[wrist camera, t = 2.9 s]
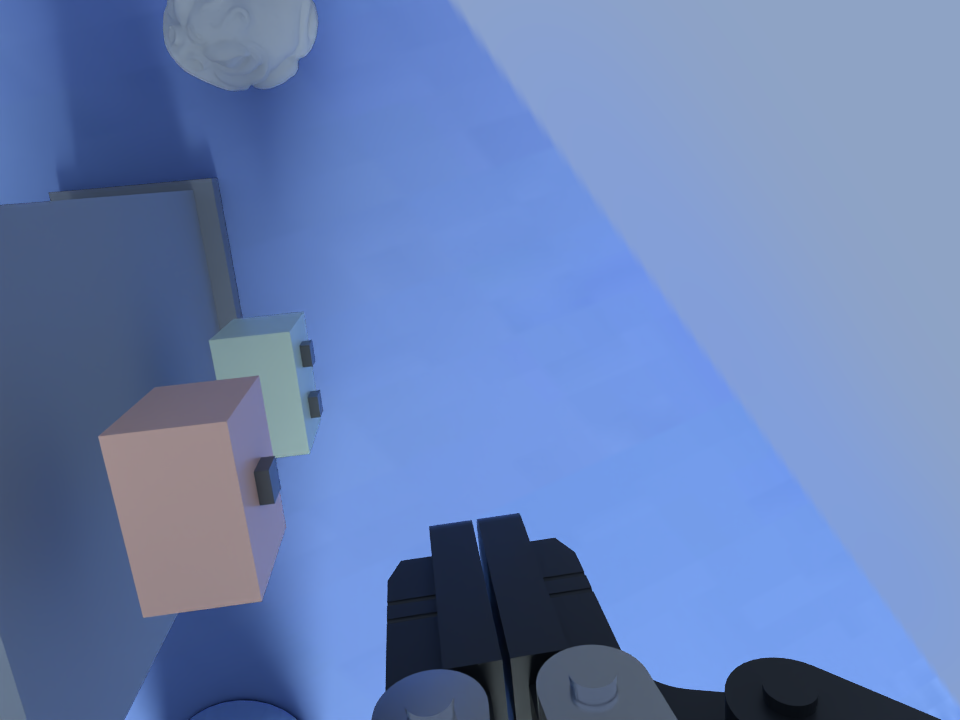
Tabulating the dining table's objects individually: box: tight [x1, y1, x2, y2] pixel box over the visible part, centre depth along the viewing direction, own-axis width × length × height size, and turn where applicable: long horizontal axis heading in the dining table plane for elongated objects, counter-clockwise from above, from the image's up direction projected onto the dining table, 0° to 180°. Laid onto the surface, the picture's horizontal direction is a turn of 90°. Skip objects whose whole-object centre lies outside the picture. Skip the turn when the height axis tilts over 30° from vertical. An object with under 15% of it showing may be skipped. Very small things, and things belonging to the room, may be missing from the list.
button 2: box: [209, 312, 323, 458], centre depth 29 cm, size 3×5×4 cm
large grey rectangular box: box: [0, 178, 242, 720], centre depth 27 cm, size 8×17×24 cm, turn 5°
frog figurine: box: [163, 0, 318, 91], centre depth 32 cm, size 6×7×7 cm
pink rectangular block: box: [98, 376, 286, 618], centre depth 19 cm, size 3×5×4 cm
